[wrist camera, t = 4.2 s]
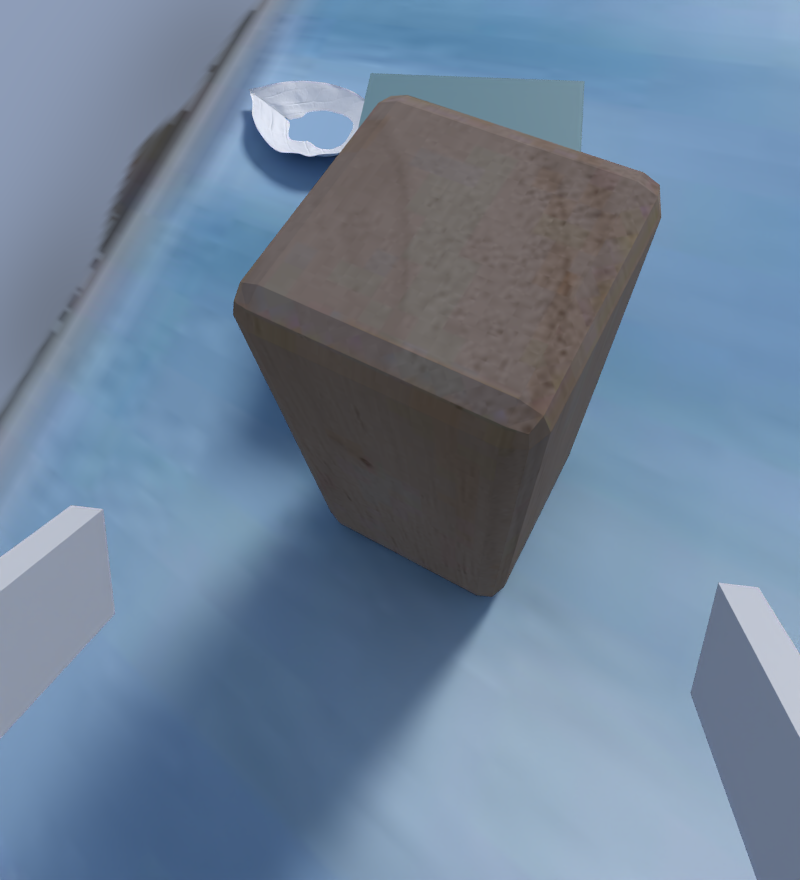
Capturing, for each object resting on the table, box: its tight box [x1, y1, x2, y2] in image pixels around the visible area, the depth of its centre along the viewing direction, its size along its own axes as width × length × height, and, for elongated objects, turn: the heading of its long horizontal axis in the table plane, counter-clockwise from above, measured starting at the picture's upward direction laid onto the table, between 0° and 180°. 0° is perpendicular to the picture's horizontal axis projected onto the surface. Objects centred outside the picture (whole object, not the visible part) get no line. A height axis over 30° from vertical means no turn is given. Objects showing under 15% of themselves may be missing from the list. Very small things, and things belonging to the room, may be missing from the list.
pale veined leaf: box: [249, 81, 365, 157], centre depth 49 cm, size 8×12×2 cm, turn 54°
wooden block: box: [233, 95, 661, 597], centre depth 29 cm, size 10×10×20 cm
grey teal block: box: [358, 73, 584, 152], centre depth 38 cm, size 12×12×4 cm
